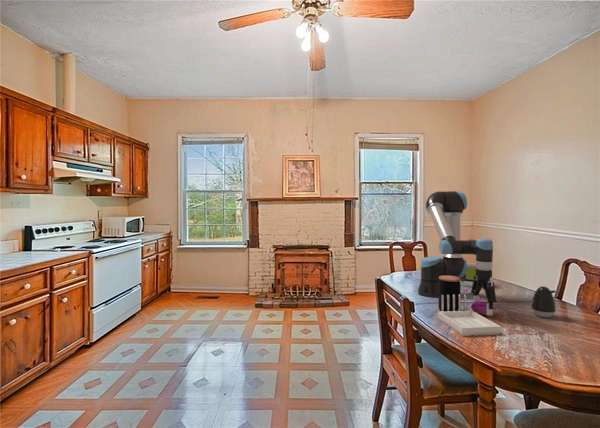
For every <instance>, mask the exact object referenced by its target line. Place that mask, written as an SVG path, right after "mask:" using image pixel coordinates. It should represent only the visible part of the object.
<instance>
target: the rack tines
mask: <svg viewBox="0 0 600 428" xmlns="http://www.w3.org/2000/svg"><path fill="white" fill-rule="evenodd" d="M461 297H462V295H461V293H460V294H459V307H458V311H462V309H461V307H462V304H461V303H462V301H461V300H462V298H461ZM463 298H464V299H463V300H464V301H463V311H467V294H466V293H465V294H464V296H463ZM447 311H449V295H447ZM453 311H455V295H453ZM440 312H444V295H442V305H441V311H440Z"/></svg>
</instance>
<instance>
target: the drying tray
mask: <svg viewBox="0 0 600 428" xmlns="http://www.w3.org/2000/svg"><path fill="white" fill-rule="evenodd" d="M437 319H438V320H439V319H440V320H441V322H442V321H443V322H444V323H443V322H442V323H443V324H445V325H446V324H447V325H448V326H447V325H446V326H447V327H448V328H450V327H451V329H452V330H453V331H454V330H455V331H454V332H456V333H457V332H458V333H457V334H459V335H460V336H461V335H462V337H465V336H467V337H470V336H471V335H474V336H495V335H502V326H501V325H499V324H497V323H495V322H493V321H492V320H490V319H488V318H486V317H484V316H483V315H482V314H480V313H477V312H474V311H473V310H466V311H464V310H461V311H444V312H441V311H437ZM440 320H439V321H440Z"/></svg>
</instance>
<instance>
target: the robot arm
mask: <svg viewBox="0 0 600 428" xmlns="http://www.w3.org/2000/svg"><path fill="white" fill-rule="evenodd" d="M467 207H468V200H467V196H466V194H465V193H464V192H463V191H456V190H454V191H452V190H451V191H450V190H449V191H448V190H446V191H440V190H439V191H435V192H433V193H431V194H430V195H429V196H428V197H427V200H426V202H425V209H426V213H428V214H429V215H430V217H431V219H432V222H433V224H434V228H435V229H436V232H437V235H438V237H439V239H440V241H439V242H438V250H439V253H440V254H442V258H441V257H440V256H435V255H432V256H426V257H423V258H422V259H421V261H420V283H419V285H418V287H417V294H418V293H419V295H420V296H422V295H423V297H428V298H439V280H440V279H439V276H444V275H448V276H456V277H463V276H464V275H465V274H466V271H467V264H466V263H468V262H467V261H466V259H464V256H463V255H475V264H476V268H477V269H476V276H474V280H473V285H472V287H471V289H470V293H471V294H472V295H473V303H474V302H477V301H480V300H481V299H480V296H481V295H480V292H481V291H482V290H484V293H485V295H486V299H487V300H486V302H487V316H493V315H494V314H493V312H494V311H493V306H494V304H495V303H497V302H498V301H497V296H496V291H495V282H493V281H491V280H490V279H491V278H492V277H493V270H492V269H493V259H494V258H493V255H494V254H493V253H494V241H493V240H492V239H490V238H478V239H472V238H471V239H467V240H464V239H463V240H461V216H462V215H463V213H464V210H466V209H467ZM482 287H483V288H482Z"/></svg>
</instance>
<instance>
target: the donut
mask: <svg viewBox="0 0 600 428" xmlns="http://www.w3.org/2000/svg"><path fill="white" fill-rule="evenodd" d="M487 302H488V301H480V300H479V301H477V302H474V301H473V303H472V304H471V305H470V308H471V311H474V312H476V313H477V314H480V315H487ZM494 311H495V306H494V305H493V312H494ZM487 316H488V315H487Z"/></svg>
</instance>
